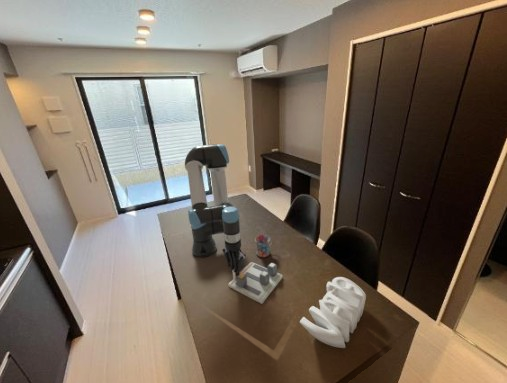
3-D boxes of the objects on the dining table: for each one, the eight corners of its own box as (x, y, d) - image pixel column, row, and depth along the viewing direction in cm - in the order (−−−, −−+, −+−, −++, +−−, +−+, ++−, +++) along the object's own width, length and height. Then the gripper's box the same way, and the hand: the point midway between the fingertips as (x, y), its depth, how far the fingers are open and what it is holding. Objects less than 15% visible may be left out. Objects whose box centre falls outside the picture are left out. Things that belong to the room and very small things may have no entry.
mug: (259, 260, 133) (259, 245, 129) (252, 252, 141) (252, 237, 137) (277, 254, 138) (277, 239, 134) (269, 246, 146) (269, 232, 142)
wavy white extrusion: (334, 366, 78) (337, 345, 74) (294, 335, 89) (295, 315, 85) (371, 305, 101) (375, 286, 97) (336, 286, 112) (338, 269, 108)
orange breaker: (237, 285, 112) (236, 276, 110) (241, 280, 115) (240, 272, 113) (242, 288, 110) (242, 279, 108) (247, 283, 113) (246, 274, 111)
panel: (228, 286, 115) (227, 274, 112) (251, 264, 130) (250, 253, 127) (261, 304, 104) (261, 291, 101) (282, 277, 119) (282, 266, 116)
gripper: (216, 239, 106) (221, 279, 115) (238, 247, 99) (241, 289, 107) (227, 231, 112) (231, 270, 120) (248, 239, 105) (251, 280, 113)
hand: (236, 279), depth 114 cm, fingers closed
